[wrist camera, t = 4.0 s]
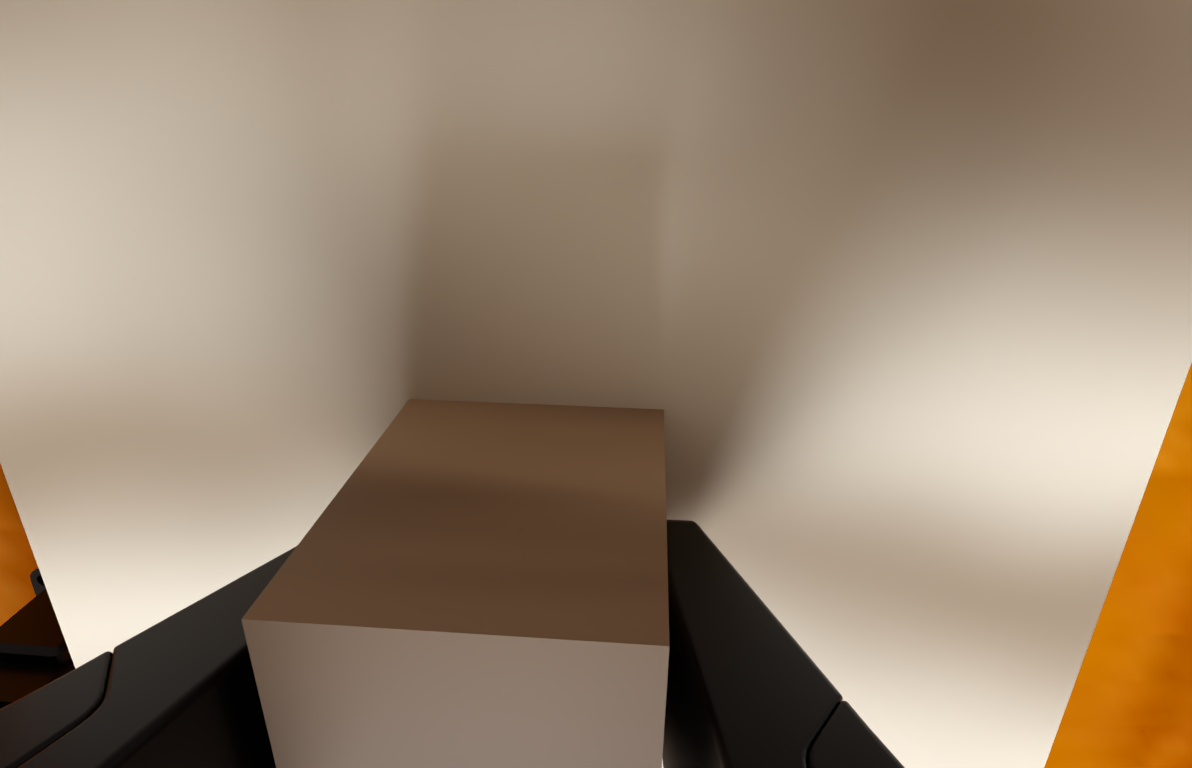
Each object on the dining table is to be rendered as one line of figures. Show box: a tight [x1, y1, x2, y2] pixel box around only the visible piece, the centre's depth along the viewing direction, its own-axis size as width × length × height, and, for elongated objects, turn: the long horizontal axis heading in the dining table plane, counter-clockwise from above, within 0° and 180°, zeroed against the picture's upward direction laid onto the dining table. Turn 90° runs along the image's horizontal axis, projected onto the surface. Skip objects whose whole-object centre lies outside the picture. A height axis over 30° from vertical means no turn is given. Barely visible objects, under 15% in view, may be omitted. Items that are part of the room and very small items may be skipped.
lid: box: [0, 0, 1192, 768], centre depth 9 cm, size 15×15×6 cm
